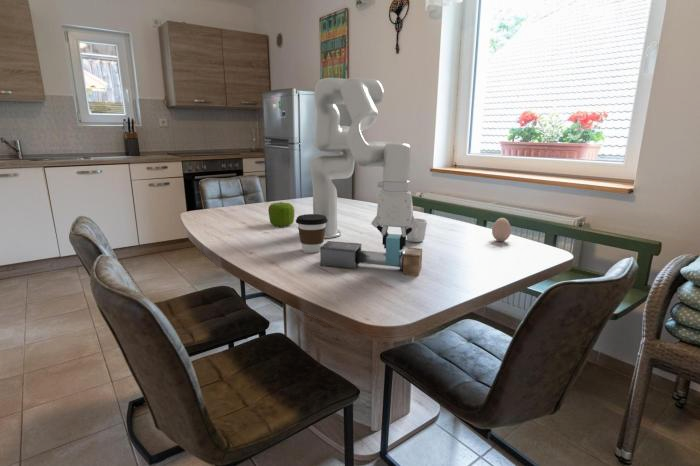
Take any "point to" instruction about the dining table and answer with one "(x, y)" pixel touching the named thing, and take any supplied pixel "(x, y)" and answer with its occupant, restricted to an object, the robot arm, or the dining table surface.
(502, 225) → the egg
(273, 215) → the apple
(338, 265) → the sleeve
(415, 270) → the cardboard box
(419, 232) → the cup
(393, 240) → the plug
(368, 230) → the dining table surface
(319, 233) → the coffee cup
